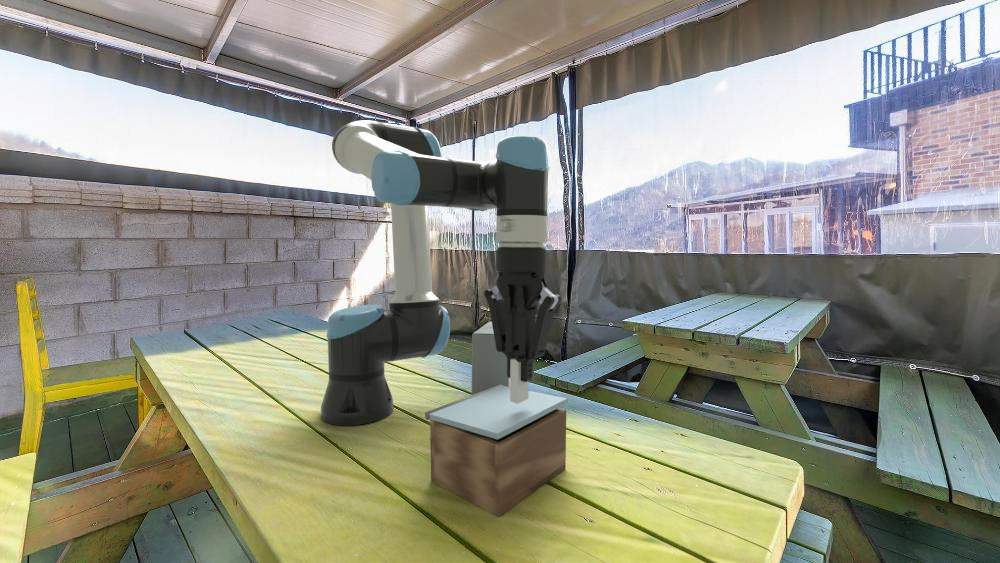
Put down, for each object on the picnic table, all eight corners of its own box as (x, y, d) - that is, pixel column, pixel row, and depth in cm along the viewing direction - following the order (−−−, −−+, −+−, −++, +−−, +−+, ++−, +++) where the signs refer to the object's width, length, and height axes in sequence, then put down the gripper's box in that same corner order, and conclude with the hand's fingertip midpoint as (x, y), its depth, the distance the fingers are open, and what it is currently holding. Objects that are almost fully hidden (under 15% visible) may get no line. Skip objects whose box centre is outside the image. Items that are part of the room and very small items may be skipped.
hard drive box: (508, 436, 84) (508, 335, 83) (470, 433, 86) (470, 333, 84) (520, 407, 99) (521, 321, 98) (488, 405, 101) (488, 320, 99)
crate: (430, 481, 68) (430, 419, 67) (500, 443, 81) (500, 391, 80) (499, 517, 59) (499, 446, 58) (565, 468, 72) (566, 409, 71)
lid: (424, 419, 67) (424, 411, 67) (498, 390, 81) (498, 383, 81) (497, 441, 58) (497, 432, 58) (567, 404, 71) (567, 397, 71)
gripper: (472, 245, 66) (471, 396, 68) (543, 246, 58) (540, 418, 60) (503, 245, 72) (502, 385, 74) (572, 246, 63) (568, 403, 65)
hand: (519, 400), depth 67 cm, fingers closed
